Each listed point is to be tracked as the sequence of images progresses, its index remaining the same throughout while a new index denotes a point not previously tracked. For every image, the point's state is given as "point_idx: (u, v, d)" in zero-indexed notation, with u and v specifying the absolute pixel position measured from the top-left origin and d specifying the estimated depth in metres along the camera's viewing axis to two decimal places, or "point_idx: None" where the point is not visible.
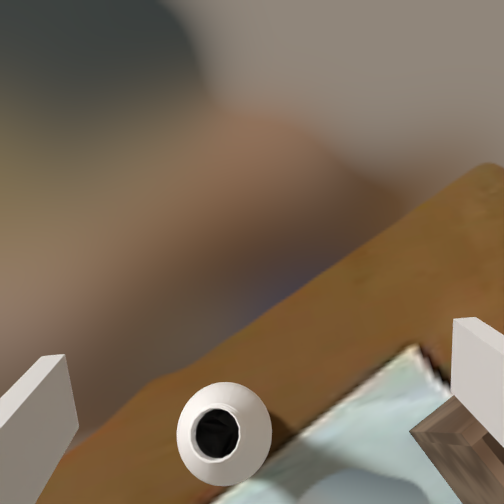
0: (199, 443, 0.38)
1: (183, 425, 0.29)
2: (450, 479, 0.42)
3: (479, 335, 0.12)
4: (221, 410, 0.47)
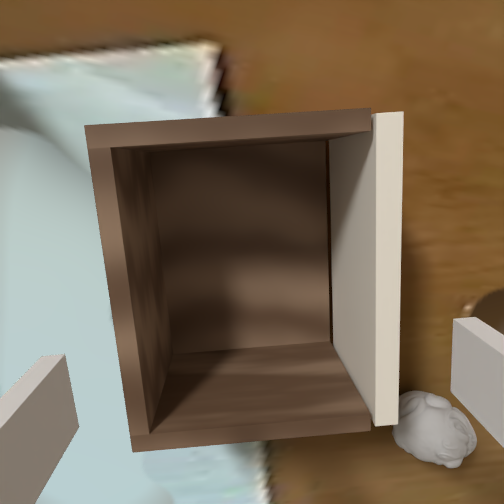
0: None
1: None
2: None
3: (479, 334, 0.12)
4: None
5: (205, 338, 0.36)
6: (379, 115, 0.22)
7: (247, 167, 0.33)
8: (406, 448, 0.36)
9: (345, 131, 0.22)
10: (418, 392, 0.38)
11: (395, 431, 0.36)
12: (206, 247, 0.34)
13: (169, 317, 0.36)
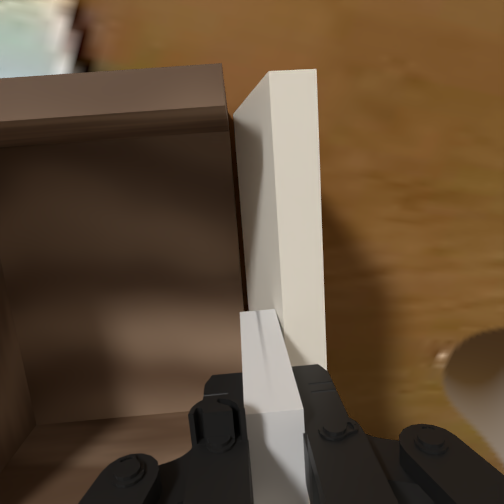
0: None
1: None
2: None
3: (260, 323, 0.14)
4: None
5: (79, 404, 0.27)
6: (274, 75, 0.12)
7: (119, 170, 0.23)
8: None
9: (179, 107, 0.12)
10: None
11: None
12: (70, 282, 0.25)
13: (26, 377, 0.26)
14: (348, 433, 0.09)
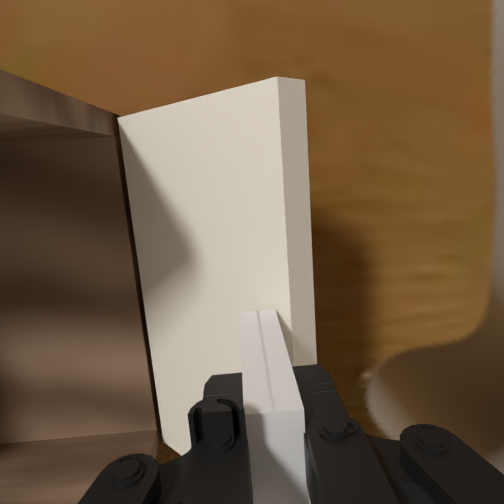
0: None
1: None
2: None
3: (260, 323, 0.14)
4: None
5: None
6: (280, 81, 0.14)
7: None
8: None
9: None
10: None
11: None
12: None
13: None
14: (349, 433, 0.09)
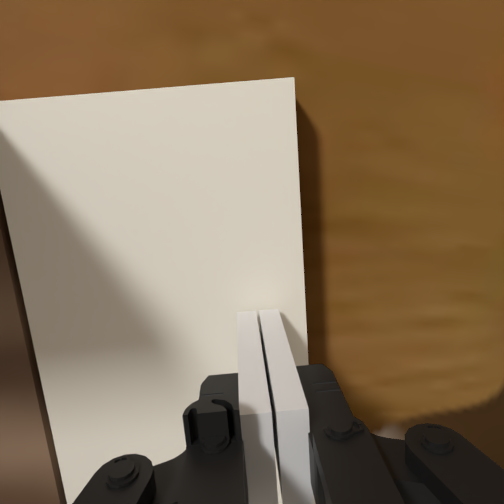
0: None
1: None
2: None
3: (263, 323, 0.14)
4: None
5: None
6: (293, 82, 0.14)
7: None
8: None
9: None
10: None
11: None
12: None
13: None
14: (354, 432, 0.09)
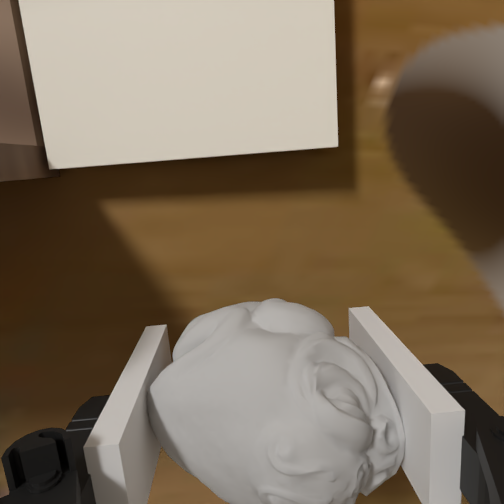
0: None
1: None
2: None
3: (362, 321, 0.14)
4: None
5: None
6: None
7: None
8: (185, 467, 0.11)
9: None
10: (253, 302, 0.13)
11: (149, 413, 0.11)
12: None
13: None
14: None
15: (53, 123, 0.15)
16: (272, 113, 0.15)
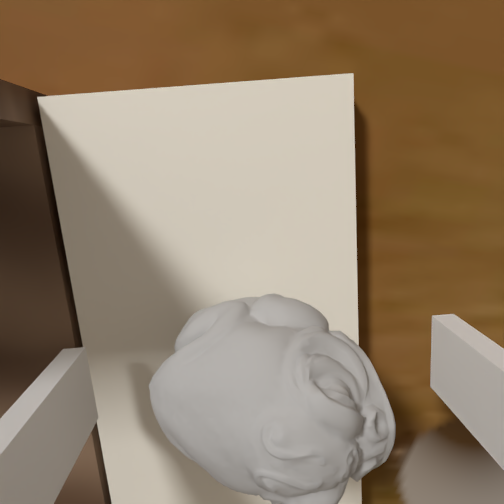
0: None
1: None
2: None
3: (455, 331, 0.13)
4: None
5: None
6: (351, 78, 0.14)
7: None
8: (185, 452, 0.12)
9: None
10: (252, 297, 0.14)
11: (152, 401, 0.12)
12: None
13: None
14: None
15: None
16: None
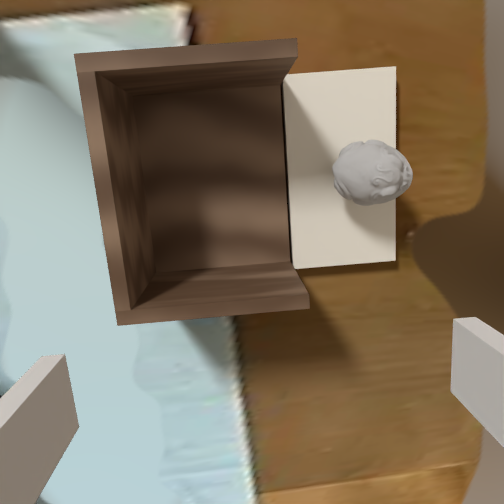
0: None
1: None
2: None
3: (479, 335, 0.12)
4: None
5: (183, 258, 0.43)
6: None
7: (215, 108, 0.39)
8: (344, 187, 0.37)
9: (277, 57, 0.29)
10: None
11: (334, 171, 0.37)
12: (182, 178, 0.41)
13: (152, 240, 0.42)
14: None
15: (297, 253, 0.43)
16: (373, 250, 0.43)
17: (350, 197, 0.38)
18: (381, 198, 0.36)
